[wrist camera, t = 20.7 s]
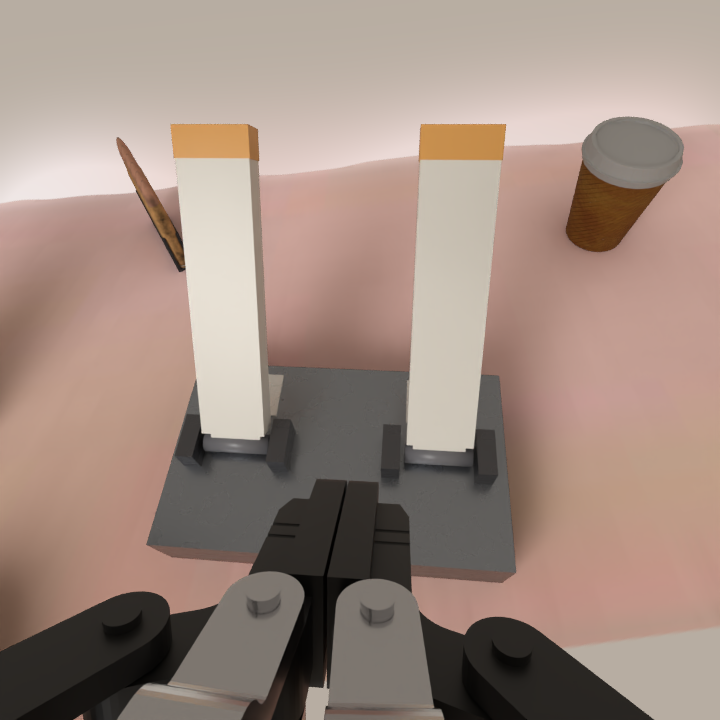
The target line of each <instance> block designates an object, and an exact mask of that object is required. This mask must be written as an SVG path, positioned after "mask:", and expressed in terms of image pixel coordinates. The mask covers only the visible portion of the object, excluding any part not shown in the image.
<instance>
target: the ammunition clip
mask: <svg viewBox="0 0 720 720" xmlns="http://www.w3.org/2000/svg"><path fill="white" fill-rule="evenodd" d="M117 146H118V149H119V152H120V155H121V157H122V159H123V161H124V164H125V166H126V168H127V171H128V174H129V177H130V178H131V180H132V182H133V184H134V186H135V188H136V192H137V194H138V196H139V198H140V200H141V201H142V203H143V205H144V207H145V209H146V211H147V213H148V215H149V216H150V218H151V220H152V222H153V224H154V226H155V228H156V229H157V231H158V233H159V235H160V237H161V239H162V241H163V242H164V244H165V246H166V248H167V250H168V252H169V253H170V255H171V257H172V259H173V261H174V263H175V265H176V266H177V268H178V270H179V272H181V271H183V270H185V269H186V266H185V256H184V246H183V242H182V240H181V238H180V236H179V234H178V232H177V230H176V229H175V227H174V225H173V223H172V222H171V220H170V218H169V216H168V215H167V213H166V211H165V210H164V208H163V206H162V204H161V202H160V201H159V199H158V197H157V195H156V194H155V192H154V190H153V189H152V187H151V185H150V184H149V182H148V180H147V178H146V176H145V175H144V173H143V171H142V169H141V168H140V167H139V166H138V164H137V162H136V161H135V159H134V157H133V156H132V154H131V152H130V150H129V149H128V147H127V146H126V145H125V143H124V142H123V141H122V140H121V139H120V138H117Z"/></svg>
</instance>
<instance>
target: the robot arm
mask: <svg viewBox="0 0 720 720" xmlns="http://www.w3.org/2000/svg"><path fill="white" fill-rule="evenodd" d="M378 499H379V482H367V481H349V482H348V486H347V480H332V479H317V480H316V482H315V485H314V487H313V490H312V493H311V495H310V498H309V499H301V498H293V499H292V500H290V501H289V502H288V503H286V504H285V505H284V506H283V507H281V508H280V509H279V511H278V513H277V515H276V517H275V519H274V522H273V525H272V526H271V528H270V530H269V532H268V536H267V537H266V539H265V541H264V543H263V545H262V547H261V549H260V551H259V554H258V556H257V558H256V560H255V562H254V564H253V566H252V569H251V571H250V573H249V575H248V576H246V577H244V578H242V579H240V580H238V581H237V582H235V583H234V584H233V585H232V586H231V587H230V588H229V589H228V590H227V591H226V593H225V594H224V596H223V598H222V599H221V601H220V602H219V604H217V605H214V606H211V607H208V608H205V609H200V610H195V611H189V612H183V613H177V614H171V615H170V608H169V605H168V603H167V601H166V600H165V599H164V598H163V597H162V596H160V595H158V594H155V593H151V592H130V593H126V594H121V595H118V596H115V597H113V598H110V599H108V600H106V601H104V602H102V603H100V604H98V605H95V606H93V607H91V608H89V609H87V610H85V611H83V612H81V613H79V614H77V615H75V616H73V617H71V618H69V619H67V620H65V621H62V622H60V623H58V624H56V625H54V626H52V627H50V628H48V629H46V630H44V631H42V632H40V633H38V634H36V635H34V636H32V637H30V638H27V639H25V640H23V641H21V642H19V643H17V644H15V645H13V646H11V647H9V648H7V649H5V650H3V651H1V652H0V720H73V719H75V718H77V717H78V716H80V715H81V714H83V719H84V720H306V712H305V711H306V710H305V709H306V708H305V707H306V705H305V704H306V703H305V702H306V698H307V693H308V688H309V687H319V688H323V687H324V681H325V675H326V670H327V688H328V689H330V690H329V701H328V706H326V709H325V715H324V720H654V719H652V718H651V717H650V716H649V715H647V714H646V713H644V712H643V711H642V710H641V709H639V708H638V707H637V706H636V705H634V704H633V703H632V702H630V701H629V700H628V699H626V698H625V697H624V696H622V695H621V694H620V693H619V692H617V691H616V690H615V689H613V688H612V687H611V686H609V685H608V684H607V683H606V682H604V681H603V680H602V679H600V678H599V677H598V676H596V675H595V674H594V673H593V672H591V671H590V670H588V668H586V667H585V666H584V665H582V664H581V663H580V662H578V661H577V660H576V659H575V658H573V657H572V656H571V655H569V654H568V653H567V652H565V651H564V650H563V649H562V648H560V647H559V646H558V645H556V644H555V643H554V642H552V641H551V640H550V639H549V638H547V637H546V636H545V635H543V634H542V633H541V632H539V631H538V630H536V629H535V628H534V627H532V626H530V625H528V624H526V623H524V622H521V621H519V620H515V619H511V618H506V617H489V618H485V619H481V620H479V621H477V622H475V623H474V624H473V625H471V627H470V628H469V629H468V630H467V632H466V634H465V635H463V634H460V633H457V632H454V631H451V630H448V629H446V628H443V627H441V626H439V625H437V624H435V623H433V622H432V621H430V620H429V619H427V618H426V617H425V616H424V615H423V614H422V613H421V612H420V611H419V607H418V604H417V601H416V599H415V597H414V596H413V595H412V588H411V557H410V526H409V516H408V515H407V513H406V512H405V511H404V509H403V508H402V507H401V505H400V504H386V503H378Z"/></svg>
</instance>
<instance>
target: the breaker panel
mask: <svg viewBox="0 0 720 720" xmlns="http://www.w3.org/2000/svg"><path fill="white" fill-rule="evenodd" d="M268 373H269V393H270V414H271V427H270V428H269V430H268V431H267V433H266V434H268V435H270V440H269V445H268V450H267V455H264V454H247V453H229V452H212V451H205V450H204V449H203V438H204V435H205V434H204V433H202V430H201V420H200V410H199V399H198V389H197V379H196V381H195V384H194V388H193V391H192V394H191V398H190V401H189V404H188V408H187V411H186V414H185V418H184V421H183V424H182V428H181V431H180V434H179V438H178V441H177V444H176V448H175V451H174V454H173V458H172V461H171V464H170V468H169V471H168V474H167V478H166V481H165V484H164V488H163V491H162V494H161V498H160V501H159V504H158V508H157V511H156V514H155V518H154V521H153V524H152V528H151V531H150V534H149V538H148V541H147V544H146V545H148V546H150V547H152V548H154V549H156V550H158V551H160V552H162V553H164V554H166V555H168V556H171V557H176V558H189V559H202V560H215V561H228V562H240V563H253V564H254V562H255V560H256V558H257V556H258V554H259V551H260V549H261V547H262V545H263V543H264V541H265V539H266V537H267V536H268V532H269V530H270V528H271V526H272V525H273V522H274V519H275V517H276V515H277V513H278V511H279V509H280V508H281V507H283V506H284V505H285V504H286V503H288V502H289V501H290V500H292V499H293V498H301V499H309V498H310V495H311V493H312V490H313V487H314V485H315V482H316V480H317V479H332V480H347V486H348V482H349V481H367V482H379V499H378V503H386V504H400V505H401V507H402V508H403V509H404V511H405V512H406V513H407V515H408V516H409V526H410V557H411V576H420V577H433V578H446V579H459V580H472V581H485V582H498V583H502V582H504V581H505V580H507V579H508V578H509V577H511V576H512V575H514V574H515V573H516V565H515V554H514V542H513V531H512V519H511V508H510V496H509V485H508V473H507V462H506V450H505V439H504V427H503V416H502V404H501V393H500V381H499V376H494V375H481V378H480V388H479V398H478V409H477V419H476V429H475V440H474V449H473V466H472V467H462V466H445V465H428V464H411V463H404V451H405V442H407V413H408V392H409V372H400V371H377V370H353V369H330V368H306V367H282V366H268Z"/></svg>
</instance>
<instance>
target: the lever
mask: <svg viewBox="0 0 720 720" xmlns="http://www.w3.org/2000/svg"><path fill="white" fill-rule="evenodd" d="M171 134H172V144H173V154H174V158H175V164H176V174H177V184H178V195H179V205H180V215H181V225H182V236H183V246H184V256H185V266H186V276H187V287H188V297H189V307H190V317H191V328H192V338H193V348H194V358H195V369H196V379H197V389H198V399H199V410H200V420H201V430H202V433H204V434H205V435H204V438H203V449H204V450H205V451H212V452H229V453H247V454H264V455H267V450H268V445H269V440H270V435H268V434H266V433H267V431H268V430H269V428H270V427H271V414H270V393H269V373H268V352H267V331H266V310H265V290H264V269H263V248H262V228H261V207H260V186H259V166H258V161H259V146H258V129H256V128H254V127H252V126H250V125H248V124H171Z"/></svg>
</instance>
